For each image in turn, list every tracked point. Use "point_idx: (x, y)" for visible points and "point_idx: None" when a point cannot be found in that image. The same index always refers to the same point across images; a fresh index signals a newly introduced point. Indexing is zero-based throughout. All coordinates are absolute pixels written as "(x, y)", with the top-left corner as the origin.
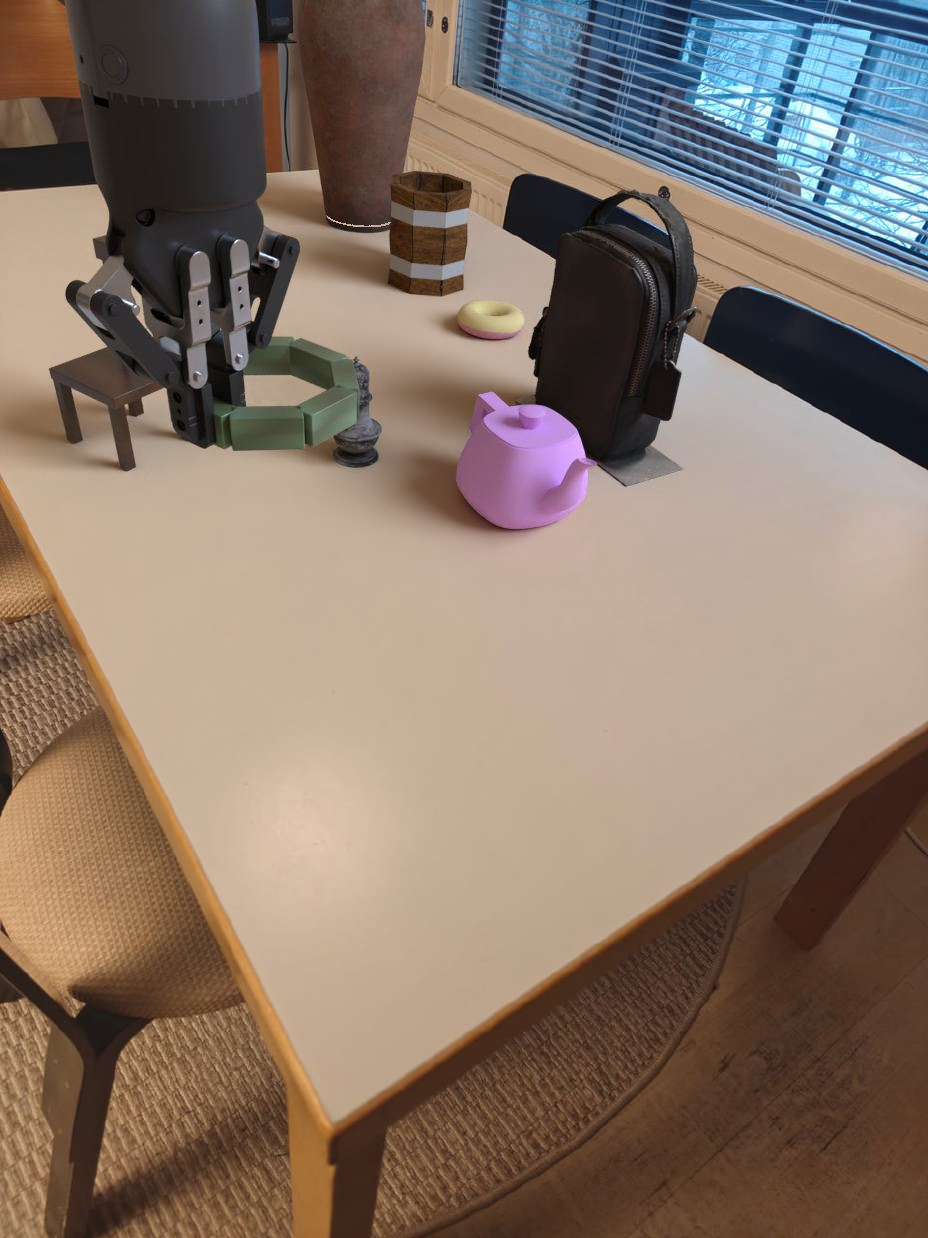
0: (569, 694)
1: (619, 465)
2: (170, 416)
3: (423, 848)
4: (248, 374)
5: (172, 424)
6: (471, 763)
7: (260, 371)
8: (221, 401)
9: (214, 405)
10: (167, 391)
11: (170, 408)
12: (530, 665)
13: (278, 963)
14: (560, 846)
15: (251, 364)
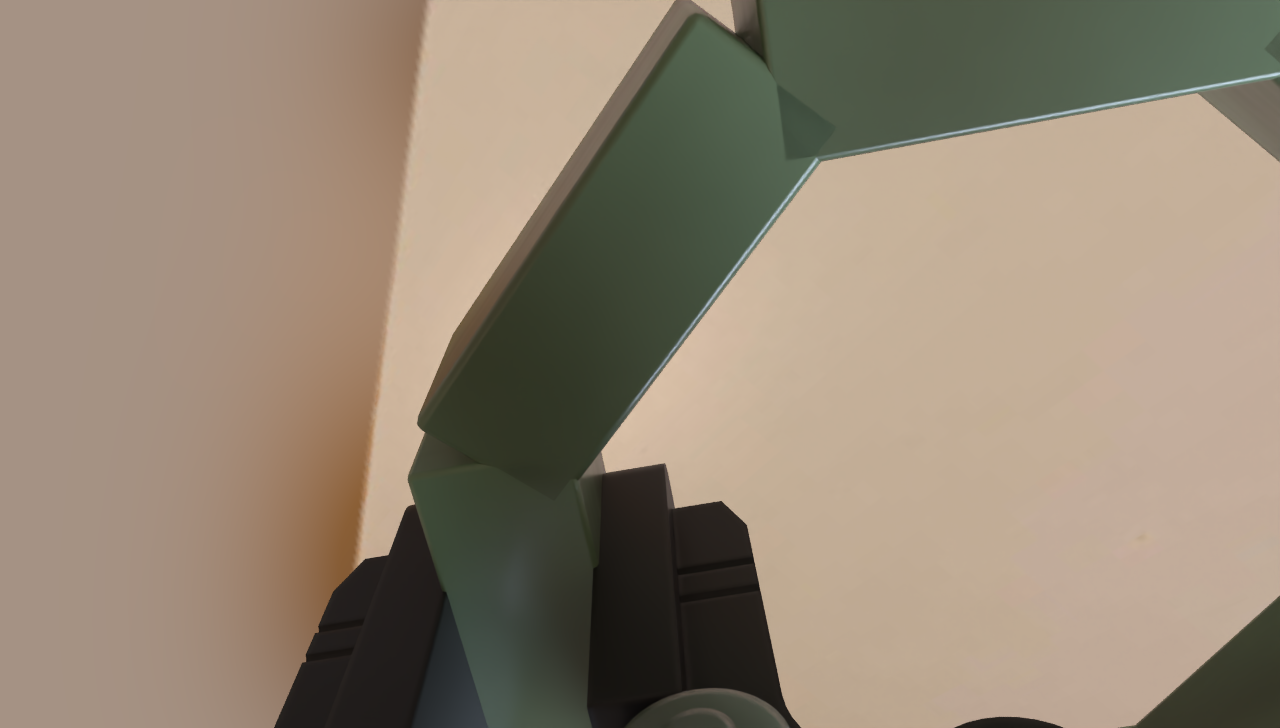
0: (1187, 441)
1: None
2: (447, 347)
3: (700, 498)
4: (1199, 93)
5: (331, 596)
6: (902, 432)
7: (1266, 147)
8: None
9: (551, 725)
10: (420, 421)
11: (299, 673)
12: (1216, 337)
13: (399, 496)
14: (863, 626)
15: (1257, 122)
